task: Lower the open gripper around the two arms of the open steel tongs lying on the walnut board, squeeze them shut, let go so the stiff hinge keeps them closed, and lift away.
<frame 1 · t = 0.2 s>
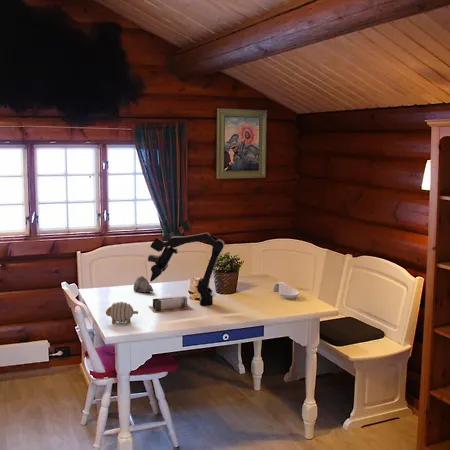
hand: (152, 279, 366), 15 cm above the table, tool tilted 30°, fingers open, 9 cm apart
mineral rock: (143, 292, 396), on the table
board: (170, 310, 356), on the table
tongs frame: (181, 306, 359), resting on board
spoon rest: (284, 296, 390), on the table
tongs arm: (169, 303, 354), point 4 cm above the table, hinge at 10.0°
toy sheep: (121, 323, 332), on the table
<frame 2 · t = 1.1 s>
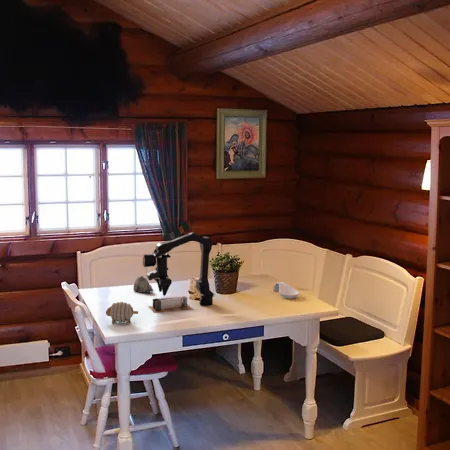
hand: (162, 293, 355), 9 cm above the table, tool pointing down, fingers open, 9 cm apart
nothing on the table moved.
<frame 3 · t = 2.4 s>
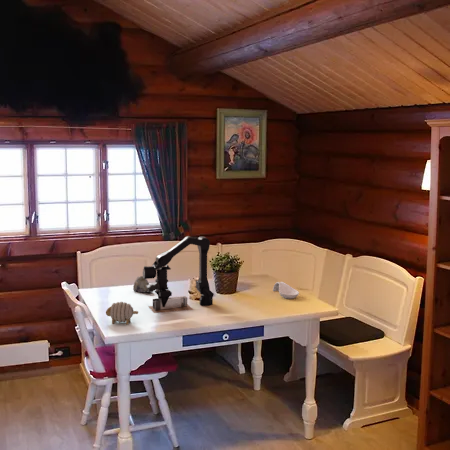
hand: (162, 305, 355), 3 cm above the table, tool pointing down, fingers open, 6 cm apart
tongs arm: (169, 303, 354), point 4 cm above the table, hinge at 7.9°, touching gripper
everything else where it was.
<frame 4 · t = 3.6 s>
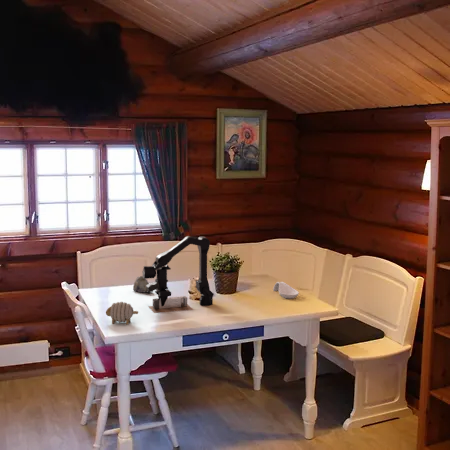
hand: (161, 305, 355), 3 cm above the table, tool pointing down, fingers open, 3 cm apart
tongs arm: (168, 303, 355), point 4 cm above the table, hinge at -0.6°, touching gripper
everything else where it was.
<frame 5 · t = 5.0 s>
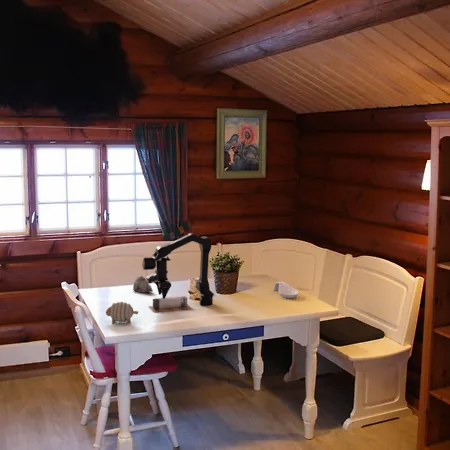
hand: (161, 296, 355), 8 cm above the table, tool pointing down, fingers open, 9 cm apart
tongs arm: (168, 303, 355), point 4 cm above the table, hinge at -0.5°
everything else where it was.
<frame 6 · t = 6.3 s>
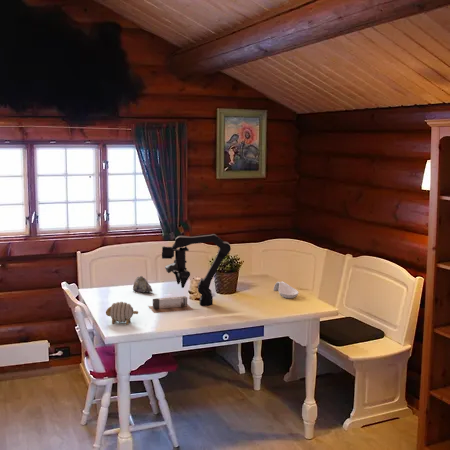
hand: (180, 285, 362), 12 cm above the table, tool pointing down, fingers open, 9 cm apart
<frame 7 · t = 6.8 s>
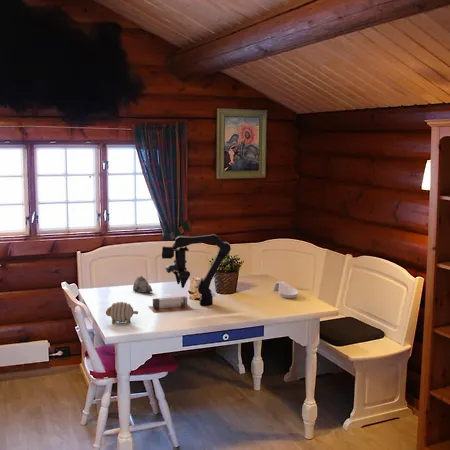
hand: (180, 285, 362), 12 cm above the table, tool pointing down, fingers open, 9 cm apart
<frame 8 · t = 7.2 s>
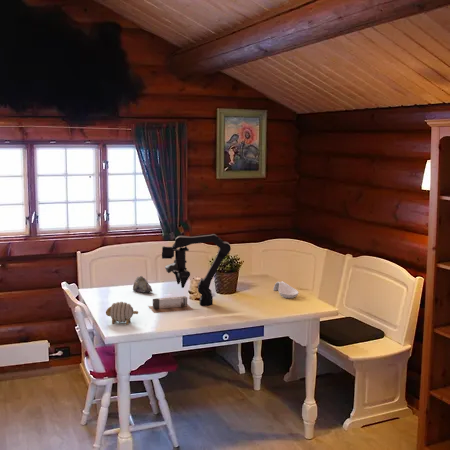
hand: (180, 285, 362), 12 cm above the table, tool pointing down, fingers open, 9 cm apart
at the end: tongs arm at +0° (first picture: +10°); the gripper is holding nothing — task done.
